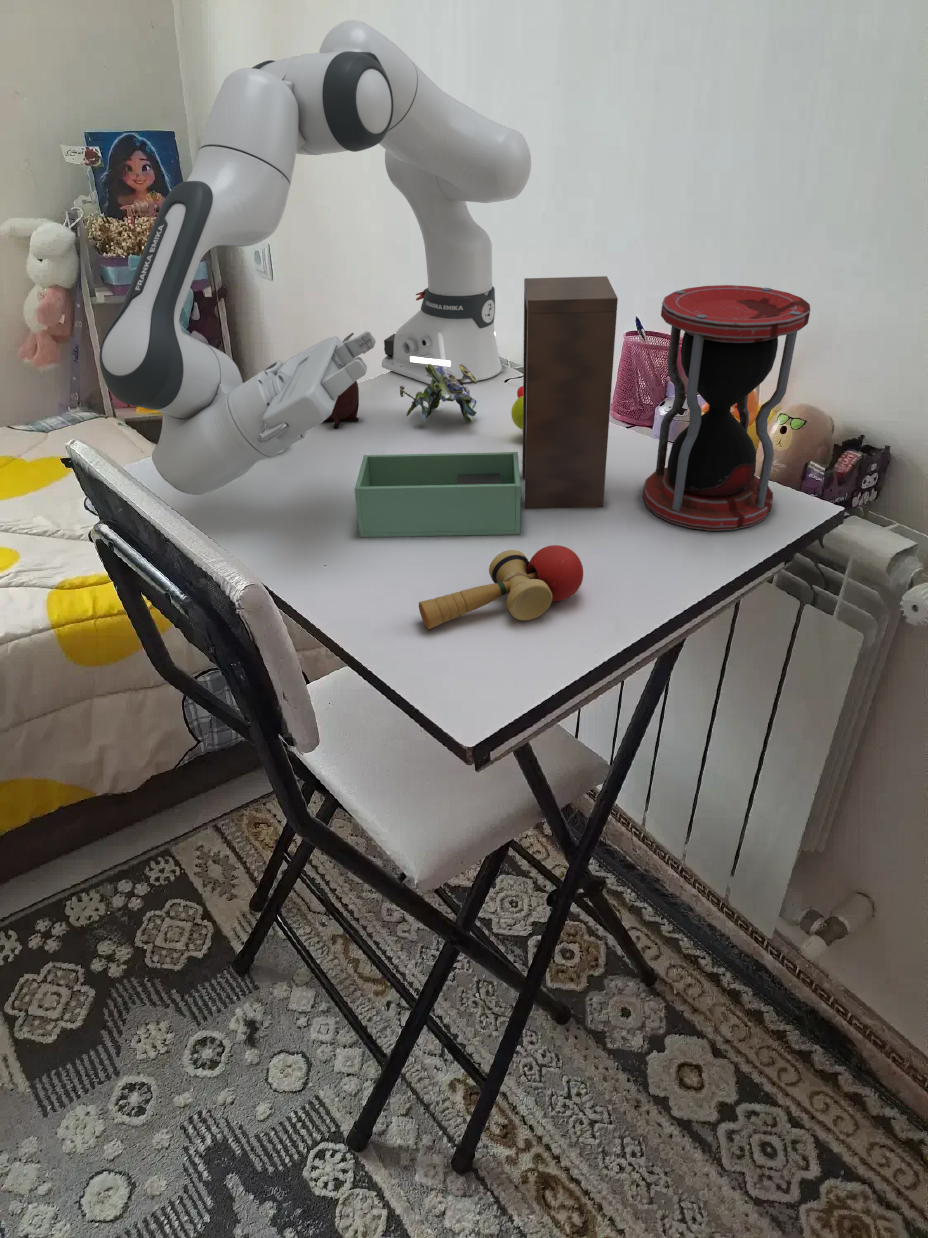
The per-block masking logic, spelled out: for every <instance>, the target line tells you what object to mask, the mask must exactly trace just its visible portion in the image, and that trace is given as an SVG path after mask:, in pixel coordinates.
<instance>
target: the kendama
mask: <svg viewBox="0 0 928 1238" xmlns="http://www.w3.org/2000/svg"><path fill="white" fill-rule="evenodd" d="M488 574H489V576H490V579H491V581H492V582H493V583H490V584H483V585H479V586H475V587H471V588H468V589H464V590H463V589H462V590H460V591H456V592H452V593H450V594H445V595H441V596H437V597H435V598H430V599H425V600H422V601H421V600H420V601H418V610H419V614H420V617H421V620H422V622H423V625H424V626H425V628H426V629H427V630H431V629H434V628H435V627H438V626H440V625H442V624H444V623H446V622H449V621H451V620H454V619H456V618H458V617H461V616H463V615H466V614H468V613H471V612H473V611H475V610H478V609H480V608H482V607H484V606H486V605H488V604H490V603H492V602H495V601H496V600H498V599H500V598H502V597H504V596H506V595H507V596H506V597H507V598H506V608H507V610H508V612H509V613H510V615H511V616H512V617H513V619H516V620H518V621H531V620H534V619H536V618H538V617H540V616H542V615H543V614H544V613H546V611H547V610H548V609H549V608H550V606H551V605H552V602H560V601H564V600H567V599H569V598H571V597H572V596H573V595H575V594H576V593H577V592H578V590H580V588H581V586H582V583H583V579H584V568H583V564H582V561H581V559H580V557H579V556H578V555H577V553H576V552H574V551H573V550H572V549H571V548H569V547H566V546H563V545H559V544H552V545H551V544H550V545H547V546H544V547H542V548H541V549H539V550H537V552H535V553H534V554H533V555H532V557H531V559H530V560H529V559H528V557H527V556H526V555H525V554H524V553H523V552H522V551H520V550H516V549H508V550H505V551H502V552H501V553H498V554H497V555H496V556H495V557H494V558H493V559H492V561H491V562H490V564H489V567H488Z"/></svg>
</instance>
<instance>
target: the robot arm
mask: <svg viewBox="0 0 928 1238" xmlns="http://www.w3.org/2000/svg"><path fill="white" fill-rule="evenodd" d="M377 145H380V146H381V147H382V148H383V149H384V150H385V151H384V164H385V170H386V174H387V176H388V178H389V180H390V182H391V184H392V185H393V186H394V187H395V188H396V189H397V190H398V191H399V192H400V194H402V196H403V197H404V198H405V199H406V201H407V203H408V204H409V206H410V208H411V210H412V211H413V215H414V216H415V218H416V221H417V224H418V227H419V229H420V232H421V236H422V239H423V244H424V252H425V263H426V274H427V275H426V276H427V287H426V288H424V289H423V290H422V291H420V292H416V293H415V296H417V297H416V298H415V301H419V300H422V302H421V306H420V310H419V311H417V312H416V313H415V314H414V315H412V317H410V318H409V320H407V321H406V322H405V323H404V324H403V325H401V326H400V327H399V328H398V329H397V330H396V332H395V333H393V334H391V335H389V336H388V337H387V338H385V339H384V340H383V345H384V347H383V351H384V355H386V356H385V357H384V358H383V359H381V360H382V361H381V368H383V369H386V370H388V371H391V372H394V373H396V374H399V375H402V376H405V377H408V378H411V379H413V380H415V381H419V382H421V383H425V384H427V385H429V386H430V385H431V380H432V378H431V376H430V375H429V374H428V373H427V371H426V369H425V365H426V364H432V365H433V366H434V368H435V369H436V368H438V365H439V366H440V367H441V368H442V367H443V368H444V369H446V370H447V371H449V372H450V371H451V373H452V374H453V375H454V377H455V378H456V379H461V378H462V377H463V374H462V372H461V369H460V364H462V365H464V366H465V367H466V368H467V369H468V370H469V371H470V372H471V374H472V375H473V376H474V377H475V378H476V381H477V382H479V381H484V380H487V379H490V378H493V377H496V376H498V375H499V374H500V373H501V372H502V371H503V365H502V361H501V359H500V355H499V351H498V345H497V338H496V335H497V334H496V330H495V317H496V316H495V314H496V289H495V287H494V286H493V245H492V244H493V243H492V240H491V238H490V236H489V234H488V232H487V231H486V230H485V229H484V228H483V227H481V226H480V225H479V224H478V222H476V221H475V220H474V218H473V216H472V215H471V213H470V211H469V208H468V205H467V202H470V203H478V204H479V203H480V204H481V203H482V204H490V203H491V204H492V203H498V202H504V201H509V200H513V199H516V198H517V197H518V196H520V194H521V193H522V192H523V190H524V189H525V187H526V186H527V184H528V181H529V178H530V175H531V170H532V155H531V150H530V146H529V144H528V142H527V139H526V137H525V136H524V135H523V134H522V133H521V132H520V131H518V130H516V129H513V128H511V127H509V126H506V125H503V124H500V123H498V122H496V121H494V120H492V119H490V118H488V117H486V116H485V115H483V114H481V113H480V112H478V111H476V110H475V109H473V108H472V107H470V106H468V105H466V104H465V103H463V102H462V101H460V100H458V99H457V98H455V97H453V96H452V95H450V94H449V93H447V92H445V91H444V90H443V89H442V88H440V87H439V86H438V85H436V83H435V82H434V81H433V80H432V79H431V78H430V77H429V76H428V75H427V74H426V73H425V72H424V71H423V70H422V69H421V68H420V67H419V66H418V64H416V63H415V61H413V60H412V58H410V57H409V56H408V55H407V54H406V52H404V51H403V49H401V47H399V46H398V45H397V44H396V43H394V42H393V41H392V40H391V39H390V38H388V37H387V36H386V35H384V34H383V33H382V32H380V31H379V30H377V29H376V28H374V27H372V25H371V26H370V25H369V24H368V23H366V22H363V21H361V20H357V19H350V20H349V19H348V20H345V21H342V22H339V23H338V24H336V25H335V26H334V27H332V28H331V29H330V30H329V32H328V33H327V34H326V35H325V37H324V38H323V40H322V42H321V44H320V47H319V51H318V52H313V53H312V52H311V53H303V54H300V55H296V56H290V57H287V58H286V57H285V58H282V59H278V60H271V59H270V60H265V61H262V62H259V63H258V64H256V65H254V66H252V67H243V68H238V69H236V70H234V71H232V72H230V73H229V74H228V75H227V76H226V77H225V78H224V80H223V82H222V84H221V86H220V89H219V91H218V93H217V94H216V96H215V99H214V102H213V104H212V106H211V110H210V111H209V115H208V117H207V121H206V123H205V126H204V129H203V134H202V136H201V140H200V144H199V149H198V153H197V156H196V160H195V163H194V166H193V169H192V171H191V173H190V174H189V176H188V178H187V179H186V180H185V181H182V182H180V183H177V184H176V185H175V186H173V187H172V189H171V190H170V191H169V192H168V194H167V195H166V197H165V198H164V201H163V202H162V204H161V206H160V208H159V210H158V213H157V215H156V218H155V220H154V222H153V224H152V228H151V229H150V232H149V235H148V238H147V240H146V242H145V245H144V248H143V251H142V254H141V256H140V258H139V261H138V264H137V266H136V269H135V271H134V275H133V277H132V279H131V283H130V284H129V288H128V290H127V293H126V294H125V295H126V296H125V298H124V300H123V303H122V304H121V307H120V309H119V311H118V313H117V314H116V316H115V318H114V319H113V321H112V322H111V324H109V325H110V326H109V327H108V329H107V330H106V332H105V334H104V337H103V338H102V340H101V344H100V348H99V355H98V356H99V358H98V359H99V367H100V371H101V375H102V378H103V380H104V383H105V385H106V387H107V389H108V391H109V392H110V393H111V394H112V396H113V397H114V398H116V399H117V400H118V401H119V402H120V403H123V404H126V405H129V406H133V407H138V408H141V409H147V410H151V411H156V412H160V413H162V421H161V422H162V423H161V431H160V435H159V438H158V439H159V440H158V442H157V444H156V446H155V447H154V449H153V450H152V453H151V460H152V463H153V465H154V467H155V469H156V470H157V472H158V474H159V475H160V476H161V478H162V479H163V480H164V481H165V482H166V483H168V484H169V485H170V486H171V487H173V489H175V490H178V491H179V492H181V493H184V494H187V495H192V496H202V495H205V494H209V493H211V492H214V491H217V490H218V489H221V488H222V487H224V486H226V485H228V484H230V483H232V482H233V481H235V480H237V479H239V478H240V477H242V476H244V475H245V474H246V473H248V472H249V471H250V470H251V469H252V468H253V466H254V465H255V464H257V463H258V462H261V461H263V460H267V459H271V458H273V457H274V456H276V455H279V454H280V453H279V452H281V451H282V452H284V451H285V450H286V449H287V448H289V447H290V446H292V445H294V444H296V443H297V442H299V441H301V440H302V439H303V438H305V437H306V435H307V432H308V431H310V430H312V429H313V428H315V427H317V426H319V425H320V424H322V422H323V421H325V420H326V419H327V418H328V417H329V416H330V415H331V414H332V411H333V409H334V406H335V403H336V400H337V398H338V396H339V395H341V394H342V393H343V392H344V391H345V390H346V389H347V388H348V387H349V386H351V385H352V384H353V383H354V382H355V381H359V379H361V378H362V377H364V376H365V375H366V373H367V370H368V367H367V364H366V363H365V361H364V360H363V358H361V356H360V355H362V354H363V355H365V354H366V353H367V352H369V351H370V350H372V349H374V347H375V345H376V338H375V337H374V335H373V334H372V332H370V331H368V330H367V331H364V332H362V333H360V334H359V335H357V336H356V337H353V338H350V339H349V340H347V341H345V342H343V340H342V339H341V338H340V337H339V336H337V335H333V336H330V337H327V338H325V339H323V340H320V341H319V342H316V343H315V344H313V345H311V346H310V347H307V348H306V349H304V350H303V351H301V352H299V353H297V354H295V355H294V356H292V357H290V358H289V359H287V360H286V361H284V362H283V361H282V360H281V359H278V360H277V361H274V362H273V363H271V364H270V365H269V366H268V367H266V368H265V369H264V370H261V371H259V372H258V373H256V374H254V376H252V377H251V378H249V379H248V380H246V381H244V378H243V376H242V373H241V370H240V368H239V366H238V365H237V363H236V361H234V359H233V358H232V357H230V356H229V355H227V354H226V353H224V352H223V351H222V350H220V349H218V348H216V347H214V346H212V345H210V344H208V343H206V342H204V341H203V340H202V341H201V340H199V339H197V338H195V337H193V336H191V335H189V334H186V333H185V332H183V331H182V328H181V323H180V317H181V313H182V311H183V308H184V306H185V303H186V300H187V298H188V295H189V292H190V290H191V286H192V284H193V281H194V278H195V276H196V273H197V270H198V268H199V266H200V265H199V264H200V262H201V260H202V259H203V258H204V255H205V254H206V253H208V251H210V250H211V249H214V248H215V247H219V246H223V247H249V246H254V245H257V244H260V243H262V242H263V241H265V240H267V239H268V238H270V237H271V236H272V235H273V234H274V233H275V232H276V231H277V229H278V227H279V225H280V222H281V221H282V219H283V216H284V213H285V210H286V206H287V202H288V198H289V195H290V194H289V193H290V189H291V186H292V185H291V184H292V180H293V176H294V171H295V164H296V157H297V155H304V156H307V155H308V156H320V155H327V154H328V155H329V154H337V153H338V154H339V153H343V152H348V151H349V152H353V153H355V152H361V151H365V150H368V149H371V148H374V147H375V146H377ZM342 342H343V343H342ZM427 367H428V366H427ZM471 382H472V381H470V380H469V379H465V380H464V381H463V383H471ZM472 383H473V382H472ZM283 450H284V451H283ZM282 452H281V453H282ZM278 453H279V454H278Z"/></svg>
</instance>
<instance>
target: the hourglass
mask: <svg viewBox="0 0 928 1238" xmlns="http://www.w3.org/2000/svg"><path fill="white" fill-rule="evenodd" d="M810 315H811V304H810V303H809V302H808V301H807V300H805V299H804V298H802V296H801V297H800V296H798V295H795V294H794V293H793V294H792V293H790V292H786V291H782V290H779V289H778V290H777V289H773V288H770V287H759V286H751V285H736V284H735V285H734V284H733V285H732V284H722V285H721V284H720V285H719V284H718V285H703V286H695V287H688V288H684V289H683V288H682V289H679V290H675V291H673V292H672V293H670V294H668V295H666V296H664V298H663V300H662V302H661V310H660V316H661V318H662V320H663V321H664V322H665V323H666V324H667V325H669V326H671V330H670V337H669V346H668V355H667V363H666V364H667V365H666V366H667V371H668V377H669V379H670V381H671V383H672V384H673V388H674V389H673V390H674V401H673V403H672V406H671V408H670V410H668V411H667V412H666V413H665V414H664V416H663V419H662V420H661V422H660V430H659V440H658V449H657V458H656V467H655V471H654V472H653V473H652V474H651V475H649V477H647V478H646V479H645V481H644V484H643V488H642V489H643V490H642V496H641V497H642V501H643V503H644V505H645V507H646V508H647V509H648V510H649V511H651V512H652V513H653V514H654V515H655V516H656V517H658V518H661V519H662V520H664V521H667V522H668V523H671V524H674V525H678V526H681V527H685V528H688V529H693V530H694V529H695V530H703V531H710V532H714V531H716V532H717V531H734V530H739V529H740V530H741V529H743V528H749V527H751V526H754V525H756V524H758V523H761V522H762V521H764V520H766V518H767V516H769V514H770V513H771V512H772V506H773V499H774V492H773V491H772V489H771V487H770V486H769V483H770V482H769V481H770V476H771V471H772V467H773V466H772V465H773V461H774V456H775V450H774V442H773V441H772V438H771V437H770V434H769V433H768V420H769V417H770V414H771V412H772V410H773V409H774V408H775V407H777V405H779V404H780V403H781V402H782V400H783V399H784V397H785V395H786V393H787V388H788V383H789V377H790V372H791V367H792V362H793V357H794V353H795V352H794V351H795V346H796V342H797V341H796V340H797V335H798V332H799V331H802V329H803V328H804V327H806V326H807V325H808V324H809V321H810ZM681 331H683V332H684V333H683V336H682V340H681ZM781 336H785V339H784V340H785V341H784V345H783V349H782V350H783V351H782V355H781V360H780V361H781V362H780V367H779V371H778V378H777V384H776V388H775V391H774V392H773V394H772V395H771V397H770V398H769V399H768V400H767V401H765V402H764V403H763V404H761V406H760V407H759V410H758V412H757V414H756V417H755V420H754V421H755V434H756V436H757V437H758V439H759V441H760V443H761V446H762V451H763V458H762V463H761V469H760V474H759V477H758V476H757V475H755V474H756V469H757V449H756V447H755V444H754V441H753V439H752V437H751V436H750V435H749V433H748V429H749V424H750V411H749V409H748V401H749V395H750V394H751V393H752V392H753V391H754V390H755V389H756V388H757V387H759V386H760V385H761V384H762V383H763V382H764V381H765V379H766V378H767V377H768V375H769V374H770V373H771V371H773V367H774V363H775V360H776V357H777V352H778V347H779V337H781ZM680 340H681V346H680ZM680 347H681V348H680ZM679 349H680V364H681V367H682V369H683V372H684V374H685V377H686V378H687V379H688V380H687V387H686V385H685V382H684V381H683V379H682V377H681V376H680V372H679V371H680V370H679V367H678V359H679V358H678V357H679ZM698 395H699V396H700V397H701V398H702V399H703V400H704V401H705V402H706V404H707V405H708V410H707V411H705V412H704V413H702V408H701V406H700V404H699V401H698ZM685 402H686V406H687V407H688V409H689V421H688V422H689V423H688V426H686V427H685V428H684V429H683V430H682V431H681V432H680V433H679V434H678V435H677V437H676V438H675V440H674V441H673V442H672V445H671V448H670V452H669V456H668V459H667V454H668V445H669V437H670V430H671V429H670V428H671V423H672V422H673V420H674V418H675V417H676V416H677V415H679V414H680V413H681V412H682V410H683V407H684V405H685ZM735 405H736V409H737V412H738V417H739V420H738V419H737V418H736V417H735V416H734V414H732V413H731V409H732V407H734V406H735ZM666 461H667V466H666Z"/></svg>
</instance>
